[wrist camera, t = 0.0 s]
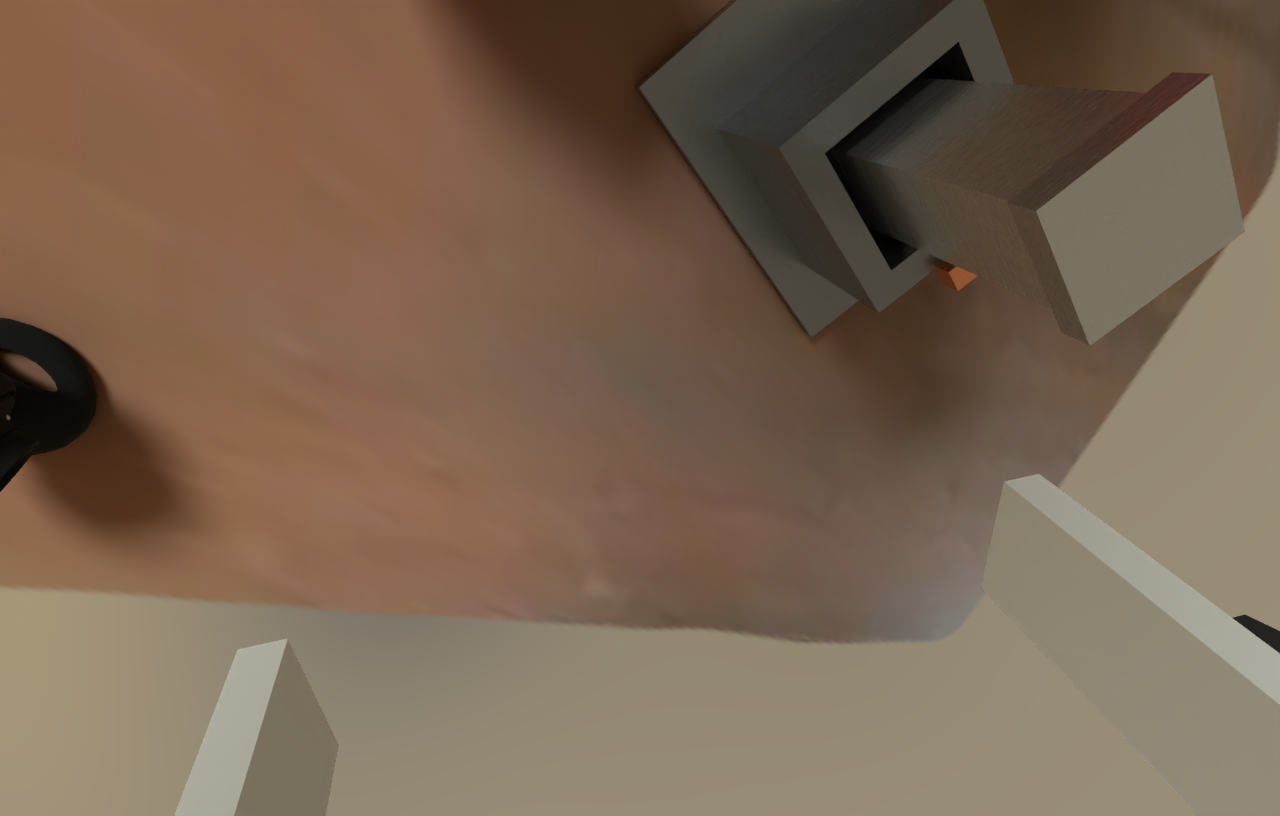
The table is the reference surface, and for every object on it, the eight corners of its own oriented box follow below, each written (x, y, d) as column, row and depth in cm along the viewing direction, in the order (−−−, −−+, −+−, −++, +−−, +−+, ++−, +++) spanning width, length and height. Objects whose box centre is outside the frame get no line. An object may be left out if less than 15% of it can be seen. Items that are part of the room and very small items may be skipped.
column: (771, 134, 36) (1035, 211, 19) (858, 61, 35) (1212, 73, 18) (822, 218, 38) (1090, 347, 22) (903, 151, 38) (1245, 233, 21)
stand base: (634, 86, 34) (691, 99, 25) (860, -116, 32) (1003, -175, 24) (805, 331, 43) (889, 403, 34) (989, 185, 41) (1128, 221, 32)
